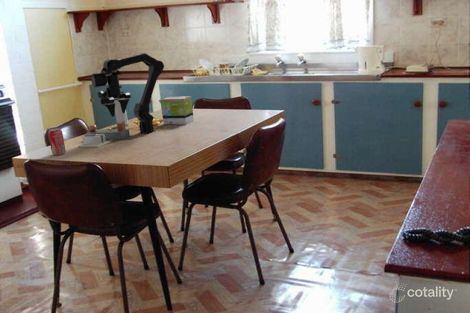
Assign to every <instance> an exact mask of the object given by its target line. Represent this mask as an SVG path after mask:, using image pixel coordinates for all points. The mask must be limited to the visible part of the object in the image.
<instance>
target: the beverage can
mask: <svg viewBox="0 0 470 313" xmlns="http://www.w3.org/2000/svg"><path fill="white" fill-rule="evenodd" d="M47 133H48V135H47V136H48V140H49V145H50V150H51V155H54V156H61V155H64V154H65V153H66V152H67V151H66V146H65V140H64V134H63V131H62V129H61V128H58V127H57V128H51V129H49V130H48V132H47Z"/></svg>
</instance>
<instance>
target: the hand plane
mask: <svg viewBox="0 0 470 313" xmlns="http://www.w3.org/2000/svg"><path fill="white" fill-rule="evenodd" d="M88 128H89V131H88V132H86V133H85V134H105V140H106V141H124V140H125V139H128V138H130V137H131V133H130V129H129V128H126V126H125V123H117V122H116V128H117V129H112V127H109V128H108V129H98V128H97V124H91V125H89V126H88Z"/></svg>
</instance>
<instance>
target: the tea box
mask: <svg viewBox="0 0 470 313" xmlns="http://www.w3.org/2000/svg"><path fill="white" fill-rule="evenodd" d="M160 107H161V115H162V122H163V125H188V124H190V123H193V122H194V120H195V119H194V109H193V102H192V96H191V95H187V96H183V95H181V96H167V97H164V98H161V99H160Z"/></svg>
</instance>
